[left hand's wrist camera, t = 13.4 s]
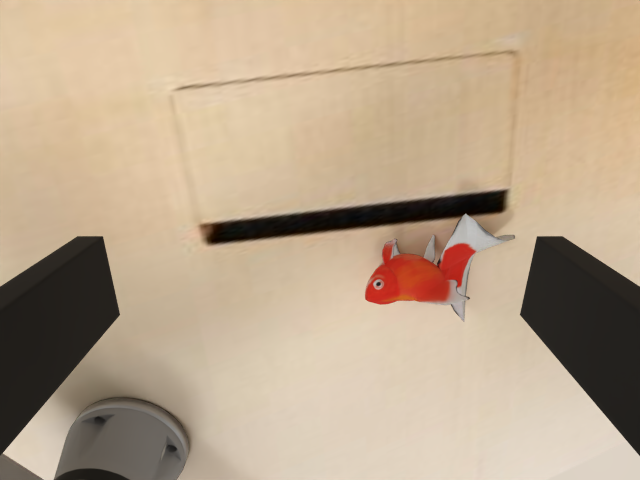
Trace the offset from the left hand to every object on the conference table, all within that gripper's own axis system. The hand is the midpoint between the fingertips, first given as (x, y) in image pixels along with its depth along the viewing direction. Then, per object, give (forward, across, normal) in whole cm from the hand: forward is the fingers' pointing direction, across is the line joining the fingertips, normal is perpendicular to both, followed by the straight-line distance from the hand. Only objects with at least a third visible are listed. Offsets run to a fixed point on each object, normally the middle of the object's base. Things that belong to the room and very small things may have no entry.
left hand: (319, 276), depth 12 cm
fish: (+29, -12, +11) cm, 33 cm away
